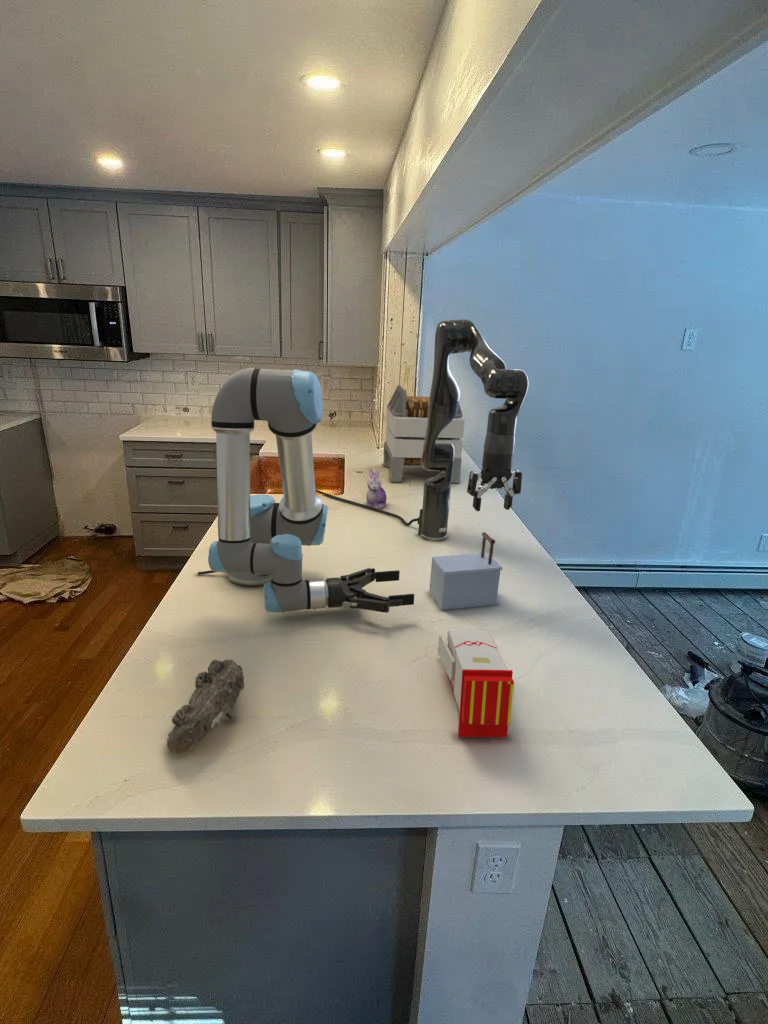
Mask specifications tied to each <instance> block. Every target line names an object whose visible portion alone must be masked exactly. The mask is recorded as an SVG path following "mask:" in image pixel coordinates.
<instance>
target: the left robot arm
mask: <svg viewBox="0 0 768 1024" xmlns="http://www.w3.org/2000/svg"><path fill="white" fill-rule="evenodd" d="M322 391H323V390H322V386H321V383H320V380H319V378H318V376H317V375H316V374H315V373H314V372H312V371H309V370H300V369H277V368H275V369H274V368H271V369H270V368H257V367H247V368H242V369H240V370H238V371H236V372H234V373H233V374H232V375H230V376H229V377H228V378H227V379H225V381H224V382H223V384H222V385H221V386H220V388H219V390H218V392H217V394H216V395H215V398H214V401H213V404H212V409H211V414H210V416H211V418H210V419H211V421H210V422H211V429H212V430H213V431H214V432H215V434H216V435H215V438H216V439H215V440H216V443H215V444H216V491H217V493H216V494H217V495H216V496H217V497H216V498H217V538H218V540H216V541H213V542H212V543H211V544H210V545H209V549H208V556H207V562H208V567H209V568H210V570H205V571H204V570H203V571H198V572H197V575H201V576H202V575H207V574H214V573H224V574H227V575H228V578H229V581H230V582H232V583H234V584H236V585H239V586H244V587H259V586H260V587H261V586H263V605H264V610H265V612H267V613H283V614H284V613H287V612H296V611H309V610H312V611H315V610H319V609H325V608H328V609H333V608H341V607H342V606H343V604H344V603H348V608H349V609H351V610H354V609H355V610H357V609H359V610H366V611H373V612H379V613H386V614H387V613H389V612H390V607H401V606H402V607H403V606H412V605H413V606H414V605H415V594H414V593H408V594H407V593H406V594H394V595H388V597H386V596H383V595H379V594H375V593H371V592H368V591H366V589H363V588H365V587H366V586H367V585H369V584H371V583H372V582H374V581H375V583H384V582H397V581H400V570H399V569H398V570H385V571H383V570H382V571H376V569H375V568H373V567H372V568H370V567H367V568H365V569H361V570H358V571H356V572H352V573H349V574H345V575H340V576H339V577H327V578H326V579H324V578H313V579H303V549H302V546H305V547H306V546H307V547H310V546H320V545H322V544H323V543H324V541H325V532H326V527H327V526H326V525H327V519H328V510H329V506H328V505H327V504H324V503H323V502H322V499H321V497H320V496H318V494H317V492H315V489H316V480H315V479H316V478H315V464H314V453H313V438H312V437H313V436H312V433H313V432H314V431H315V430H316V428H317V425H318V424H319V423H321V422H322V420H323V415H324V403H323V392H322ZM255 421H263V422H264V421H266V422H267V427H268V430H269V431H270V432H271V434H273V435H275V440H276V448H277V457H278V464H279V471H280V472H279V473H280V480H281V487H282V498H281V500H280V501H279V502H276V501H275V499H274V497H273V496H271V495H269V494H256V495H255V494H254V495H251V433H252V432H253V431H254V430H255Z"/></svg>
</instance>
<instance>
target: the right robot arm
mask: <svg viewBox="0 0 768 1024" xmlns="http://www.w3.org/2000/svg"><path fill="white" fill-rule="evenodd" d="M434 334H435V335H434V351H433V353H434V354H433V372H432V377H431V378H432V379H431V387H430V391H429V392H430V393H429V397H430V399H429V408H428V420H427V428H426V434H425V439H424V444H423V449H422V456H421V464H422V466H421V467H422V468H423V470H426V471H432V472H436V471H437V472H439V473H438V474H436V475H435V476H432V477H429V478H427V479H425V480H424V482H423V493H422V496H423V497H422V506H421V508H420V509H419V516H418V517H417V518H412V519H411V520H409V521H408V522H407V521H406V520H405V519H404V518H403V517H402V516H401V515H398V514H396V513H393V512H389V511H387V510H383V509H381V508H374V507H370V506H367V505H366V504H364V503H359V502H356V501H352V500H349V499H345V498H343V497H340V496H336V495H333V494H330V493H327V492H324V491H321V490H318V489H316V488H315V492H316V494H317V493H318V494H320V495H323V496H326V497H328V498H331V499H334V500H338V501H342V502H345V503H347V504H351V505H355V506H359V507H362V508H365V509H368V510H372V511H374V512H375V511H376V512H378V513H381V514H385V515H388V516H391V517H393V518H397V519H399V520H400V522H402V524H403V525H405V526H406V527H409V526H411V525H412V524H413V523H414V522H417V525H418V530H417V535H418V536H420V538H421V539H424V540H426V541H432V542H440V541H444V540H446V539H447V538H448V525H449V517H450V516H449V514H450V504H451V494H452V493H451V491H452V483H451V482H452V473H453V466H454V459H455V449H454V446H453V445H452V444H449V443H435V442H436V440H437V438H438V436H439V434H440V433H441V432H442V431H443V430H444V429H445V428H446V427H447V426H448V425H449V424H450V422H451V421H452V420H453V419H454V418H455V416H456V414H457V412H458V406H459V405H460V398H461V390H460V387H459V385H458V383H457V382H456V380H455V378H454V377H453V374H452V373H451V369H450V368H449V357H450V355H454V354H464V353H470V354H469V358H468V359H469V360H468V361H469V367H470V369H471V370H472V371H473V373H474V374H475V375H476V376H477V377H478V378H479V379H480V381H481V383H482V386H483V390H484V392H485V394H486V395H487V396H488V397H490V398H492V399H496V400H498V399H499V400H500V399H505V400H504V402H503V404H502V405H500V406H497V407H494V408H491V409H490V410H489V412H488V417H487V426H486V434H485V438H484V444H483V454H482V462H481V463H482V464H481V466H482V469H481V471H480V472H475V471H473V470H471V471H470V472H469V475H468V476H469V477H468V481H467V487H466V488H467V489H466V492H467V494H468V495H470V496H472V497H473V499H472V508H473V509H474V510H475V511H476V512H480V511H481V507H482V506H481V505H482V496H483V495H484V494H485V493H486V492H488V490H489V489H490V490H495V489H499V490H501V489H503V490H504V493H506V494H504V500H503V508H504V509H505V510H507V511H508V510H510V509H511V508H512V505H513V500H514V496H515V495H520V494H521V493H522V480H523V472H521V471H520V470H518V469H514V470H513V471H512V468H513V462H514V461H513V460H514V453H515V445H516V428H517V419H518V416H519V414H520V411H521V408H522V405H523V403H524V401H525V399H526V396H527V392H528V390H529V378H528V375H527V374H526V372H525V371H524V370H523V369H519V368H518V369H517V368H513V369H512V368H511V369H509V368H507V366H506V363H505V361H504V360H502V358H501V357H500V356H498V354H496V353H495V352H494V351H493V350H492V349H491V348H490V347H489V345H488V343H487V342H486V340H485V339H484V337H483V335H482V334H481V332H480V331H479V329H478V327H477V326H476V325H475V323H474V322H473V321H471V320H470V319H464V318H463V319H462V318H461V319H447V320H441V321H439V322H438V324H437V326H436V329H435V333H434ZM440 471H442V472H440ZM480 479H481V481H480ZM511 479H512V486H511V485H510V483H509V481H510V480H511ZM478 481H480V482H479V483H478Z"/></svg>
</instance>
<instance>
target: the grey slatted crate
mask: <svg viewBox="0 0 768 1024" xmlns="http://www.w3.org/2000/svg"><path fill="white" fill-rule="evenodd" d="M407 394H408V393H407V390H406V389H404V388H403V387H402V385H399V384H398V385H397V386H396V388H395V390H394V392H393V394H392V395H391V398H390V400H389V402H388V404H387V405H386V413H385V414H386V415H385V423H386V428H385V438H384V442H383V466H384V467H388V468H389V475H388V476H389V477H388V478H389V480H390V482H391V483H402V482H403V475H404V469H405V466H406V467H407V466H411V467H412V466H413V467H415V466H416V467H417V466H418V467H422V464H421V456H422V449H423V444H424V439H425V434H426V428H427V420H428V408H429V399H430V396H415V395H414V396H413V395H412V396H411V395H407ZM464 429H465V419H464V418H463V411H462V408H461V405H460V404H459V406H458V412H457V414H456V416H455V418H454V419H453V420H452V421H451V422H450V424H449V425H448V426H447V427H446V428H445V429H444V430H443V431H442V432H441V433H440V434H439V436H438V438H437V440H436V442H435V443H449V444H452V445H453V446H454V449H455V459H454V466H453V473H452V482H451V484H455V483H456V484H459V483H461V472H462V461H463V460H462V453H463V442H464V441H463V440H462V439H463V438H464V431H465V430H464ZM441 472H442V471H439V473H441Z"/></svg>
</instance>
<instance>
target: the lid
mask: <svg viewBox="0 0 768 1024" xmlns="http://www.w3.org/2000/svg"><path fill="white" fill-rule="evenodd" d="M481 537H482V541H481V550H480V552H479V553H464V554H454V555H453V554H452V555H451V554H450V555H441V556H440V555H439V556H438V555H437V556H432V557H431V562H432V561H433V562H434V563H435V564H436V565H437V567H438V568H439V569H440V570H441V571H442V573H443V574H444V575H452V574H463V573H475V572H487V571H498V570H500V571H503V566H502V565H501V564H500V563H499V562H497V561H496V560H495V559H494V558H493V554H494V545H495V544H496V540H495V539H494V538H493V537H492V536H491V535H490V534H488V532H487V531H483V532H482V533H481ZM486 542H488V543H489V550H488V552H486Z"/></svg>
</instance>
